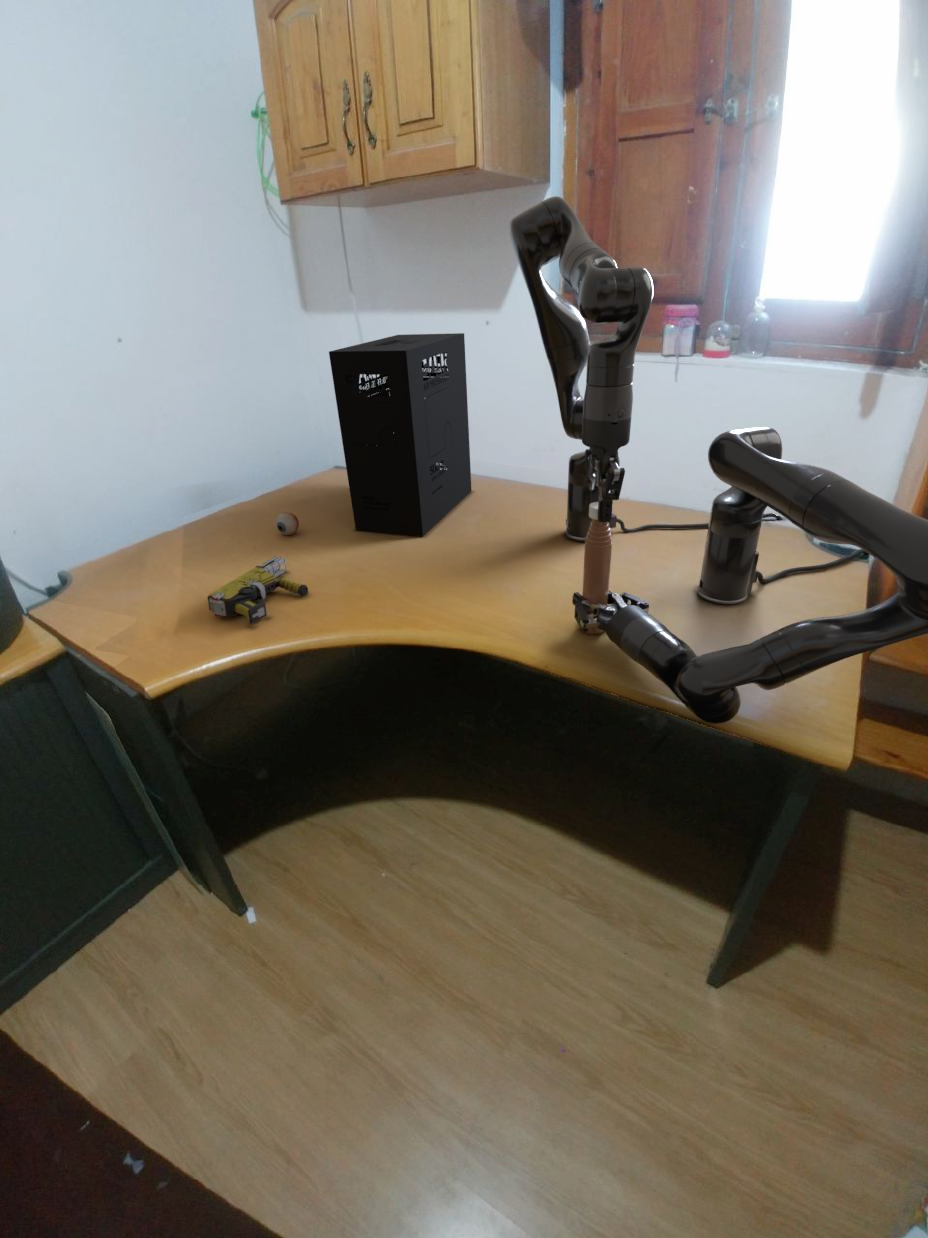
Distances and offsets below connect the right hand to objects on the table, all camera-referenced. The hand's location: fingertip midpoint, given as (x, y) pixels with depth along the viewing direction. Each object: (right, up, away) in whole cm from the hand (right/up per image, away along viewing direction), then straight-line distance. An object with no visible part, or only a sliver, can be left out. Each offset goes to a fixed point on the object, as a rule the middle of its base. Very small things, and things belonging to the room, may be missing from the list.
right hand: (587, 593), depth 114 cm
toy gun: (-66, 0, +19) cm, 68 cm away
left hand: (0, +13, -10) cm, 17 cm away
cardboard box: (-37, +27, +63) cm, 78 cm away
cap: (0, +14, -11) cm, 18 cm away
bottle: (+1, -6, +1) cm, 7 cm away
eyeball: (-71, +18, +51) cm, 90 cm away
